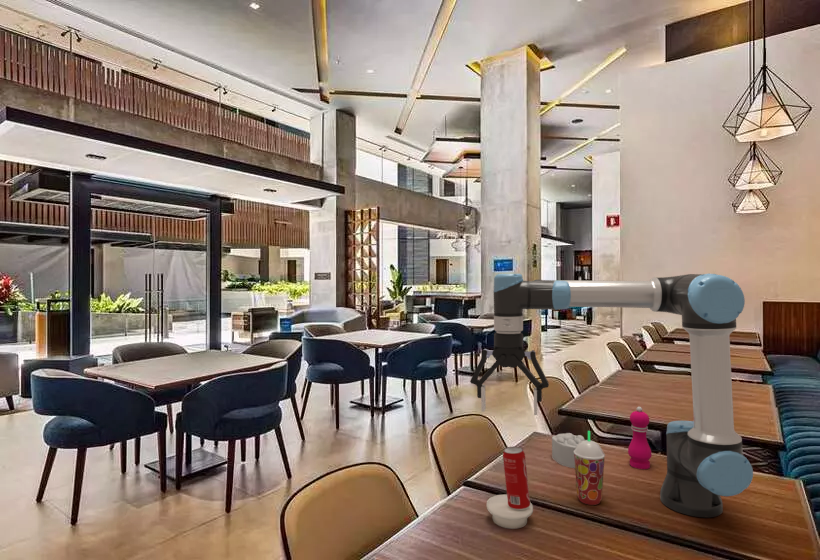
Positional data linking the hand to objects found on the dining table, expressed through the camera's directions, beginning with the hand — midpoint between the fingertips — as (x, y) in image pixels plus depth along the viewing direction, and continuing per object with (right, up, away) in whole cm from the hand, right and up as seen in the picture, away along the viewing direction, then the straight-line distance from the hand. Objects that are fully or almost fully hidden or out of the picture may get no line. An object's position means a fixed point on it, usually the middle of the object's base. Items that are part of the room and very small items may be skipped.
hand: (509, 412), depth 128 cm
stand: (0, -29, 0) cm, 29 cm away
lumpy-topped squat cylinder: (+30, -28, +40) cm, 57 cm away
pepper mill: (+51, -28, +35) cm, 68 cm away
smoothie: (+25, -29, +10) cm, 39 cm away
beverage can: (+2, -25, -1) cm, 25 cm away
